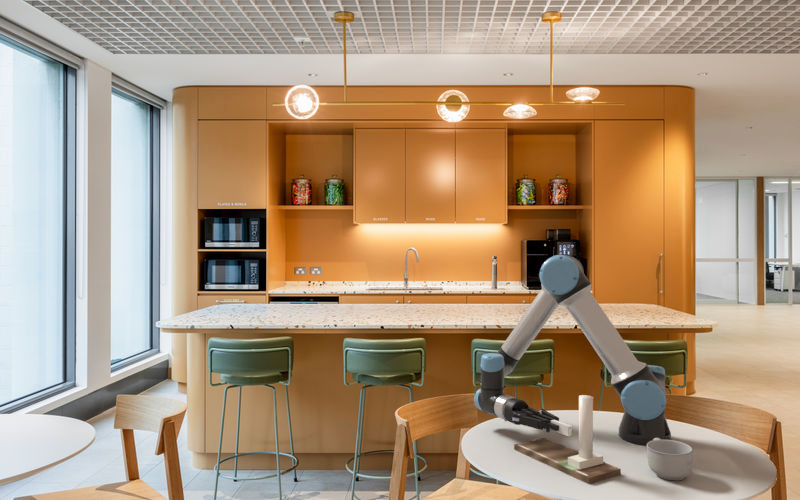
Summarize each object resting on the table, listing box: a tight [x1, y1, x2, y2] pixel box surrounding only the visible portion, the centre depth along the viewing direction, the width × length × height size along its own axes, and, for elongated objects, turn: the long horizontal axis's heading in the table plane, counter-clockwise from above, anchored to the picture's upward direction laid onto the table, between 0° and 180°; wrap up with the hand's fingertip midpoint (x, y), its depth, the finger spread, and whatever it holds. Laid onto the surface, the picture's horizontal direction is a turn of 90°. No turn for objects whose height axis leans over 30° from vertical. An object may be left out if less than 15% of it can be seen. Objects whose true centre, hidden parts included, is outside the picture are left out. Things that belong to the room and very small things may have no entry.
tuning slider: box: [568, 394, 604, 470], centre depth 149 cm, size 4×9×18 cm, turn 120°
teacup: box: [646, 438, 693, 481], centre depth 148 cm, size 14×11×8 cm
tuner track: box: [513, 437, 622, 485], centre depth 156 cm, size 28×12×2 cm, turn 30°
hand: (569, 431), depth 154 cm, fingers closed
